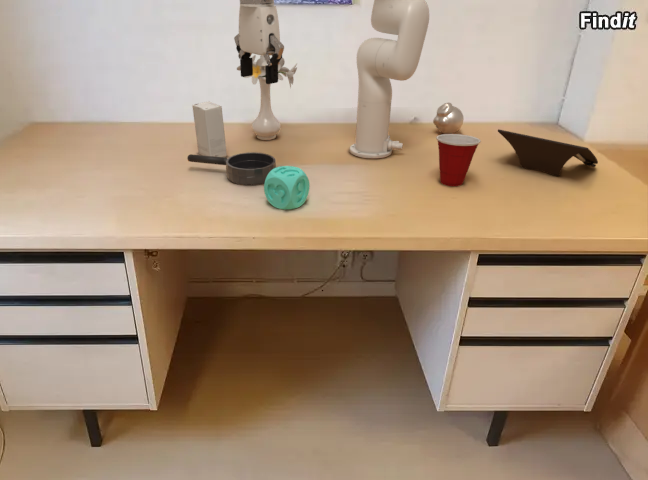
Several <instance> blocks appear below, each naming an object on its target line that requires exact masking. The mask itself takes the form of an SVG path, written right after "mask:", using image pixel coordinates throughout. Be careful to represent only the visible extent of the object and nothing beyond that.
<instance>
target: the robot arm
mask: <svg viewBox="0 0 648 480" xmlns="http://www.w3.org/2000/svg"><path fill="white" fill-rule="evenodd" d="M277 9H278V8H277V5H275V0H239V10H238V33H237V34H236V35H235V36H234V37H233V40H234V42H235V43H234V44H235V46H236V51H237V53H238V55H237V57H238V59H239V62H240V63H239V66H240V69H241V71H240V77H241V78H244V77H247V76H252V75H253V61H252V55H258V56H261V55H263V56H264V58H265V60H266V62H267V65H266V66H265V73H266V84H271V85H273V84H277V83H278V82H279V79H278V64H280V60H281V58H283V53H284V51H285V45H284V44H283V43H282V42H281V34H280V21H279V15H278V14H279V13H278V10H277ZM371 9H372V10H371V15H370V23H371V24H370V25H371V27H372V28H373V30H375V31H376V32H379V33H382V34H388V35H394V36H397V39H396V40H394V39H390V38H382V37H371V38H370V37H369V38H367V39H365V40H364V41H363V42H362V43H360V45H359V47H358V48H357V52H356V69H357V76H358V90H357V107H356V123H355V124H356V125H355V140H354V141H355V142H354V143H353V144H351V145H350V146H349V153H350V154H351V155H353V156H355V157H357V158H361V159H370V160H371V159H375V160H376V159H383V158H386V157H387V158H388V157H389V156H391V155H392V154H393V150H398V151H399V150H400V151H402V150H403V146H404V144H403V142H400V140H392V139H391V135H390V134H389V132H390V122H391V121H390V120H391V110H392V109H391V108H392V100H393V86H392V82H391V80H395V81H403V82H404V81H407V80H409V79H410V78H412V77H413V75H415V73H416V71H417V68H418V66H419V62H420V59H421V56H422V51H423V48H424V43H425V40H426V35H427V32H428V28H429V23H430V9H429V5H428V3H427V2H426V0H373V4H372V8H371ZM270 58H271V59H270Z"/></svg>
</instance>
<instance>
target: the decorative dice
mask: <svg viewBox="0 0 648 480" xmlns="http://www.w3.org/2000/svg"><path fill="white" fill-rule="evenodd" d="M310 185H311V184H310V180H309V177H308V176H307V174H306V172H305V171H304V170H303V169H302V168H300V167H297V166H295V165H294V166H292V165H281V166H280V165H279V166H276V168H274V169H272V170H271V171H270V172H269V174H268V175H267V177H266V180H265V183H264V184H263V192H264V197H265V199H266V200H267V202H268V203H269V204H270V205H271V206H272V207H274V208H275V209H279V210H295V209H298V208H300V207H301V206H303V205H304V203H305V202H306V201H307V198H308V196H309V193H310V187H311V186H310Z"/></svg>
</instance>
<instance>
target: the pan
mask: <svg viewBox="0 0 648 480" xmlns="http://www.w3.org/2000/svg"><path fill="white" fill-rule="evenodd" d="M276 160H277V159H276V158H275V157H274V156H273V155H271V154H269V153H264V152H256V151H255V152H252V151H251V152H249V151H248V152H242V153H236V154H233V155H231V156H228V157H227V160H226V165H225V171H226V178H227V179H228V180H229V181H230V182H231V183H233V184H236V185H240V186H260V185H264V183H265V180H266V177H267V175H268V174H269V172H270V171H271V170H272V169H274V168H276V167H277V161H276Z"/></svg>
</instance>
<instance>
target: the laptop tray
mask: <svg viewBox="0 0 648 480" xmlns="http://www.w3.org/2000/svg"><path fill="white" fill-rule="evenodd" d="M497 132H498V133H499V134H500V135H501V136H502V137H503V138H504V139H505V140H506V142H508V144H510V146H511V147H512V149H513V150H514V152H515V154H516V156H517V158H518V161H519V165H520V167H521V168H522V169H525V170H533V171H539V172H543V173H546V174H549V175H552V176H555V177H560V175H561V173H562V170H563V168H564V166H565V165H566V164H567V162H568V161H570V160H571V159H572V158H573V157H574V158H576V159H577V160H578V161H580V162H582V163H583V165H585V166H588V167H591V168H596V166H597V165H598V164H599V161H598V158H597V157H596V155H595V154H594V153H593V152H592V151H591V150H590V148H589V147H585V146H581V145H576V144H572V143H567V142H561V141H558V140H552V139H549V138H548V139H547V138H543V137H538V136H534V135H533V136H532V135H528V134H523V133H518V132H515V131H508V130H503V129H499V128H498V129H497Z"/></svg>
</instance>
